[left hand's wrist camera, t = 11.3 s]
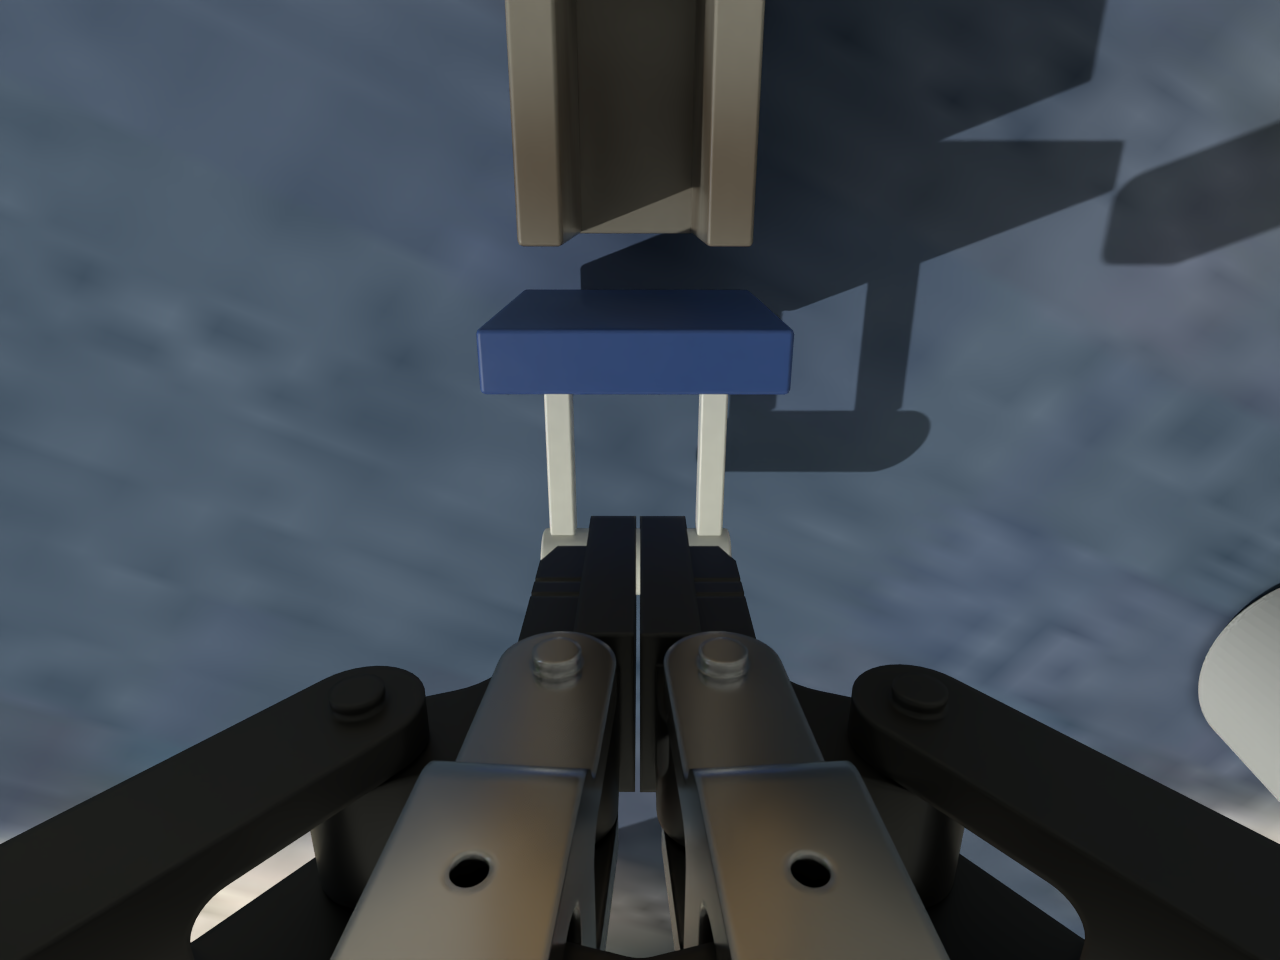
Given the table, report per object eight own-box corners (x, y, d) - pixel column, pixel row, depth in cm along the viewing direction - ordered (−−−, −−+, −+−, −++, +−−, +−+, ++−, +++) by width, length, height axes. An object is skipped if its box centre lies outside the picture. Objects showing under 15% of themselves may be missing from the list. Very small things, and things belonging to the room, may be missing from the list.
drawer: (736, 542, 22) (771, 666, 16) (536, 542, 22) (500, 665, 16) (795, -606, 14) (904, -1165, 8) (476, -606, 14) (362, -1166, 8)
